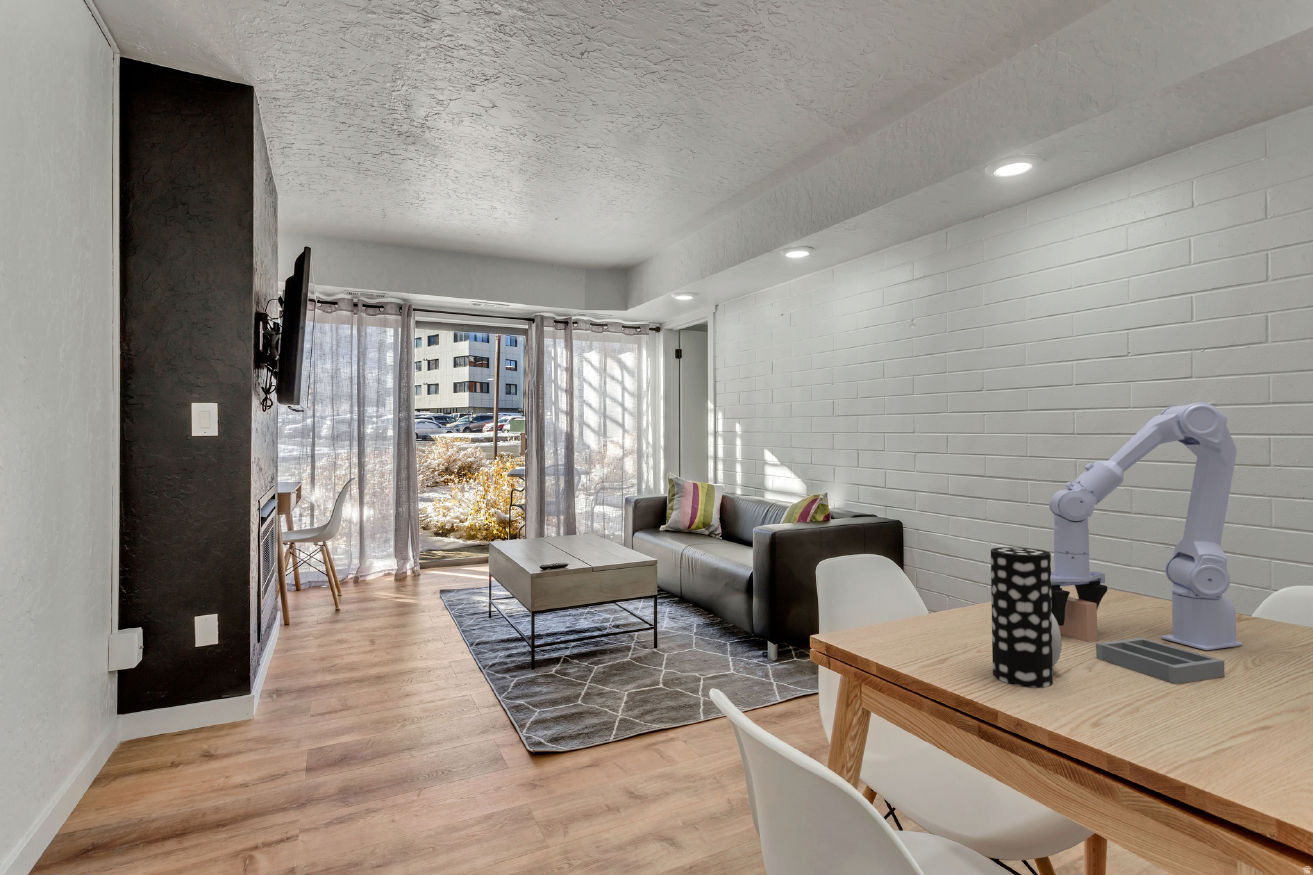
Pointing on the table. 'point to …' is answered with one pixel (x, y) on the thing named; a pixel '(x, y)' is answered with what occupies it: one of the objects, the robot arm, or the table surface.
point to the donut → (1055, 641)
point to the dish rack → (1160, 660)
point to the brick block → (1080, 620)
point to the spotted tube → (1021, 616)
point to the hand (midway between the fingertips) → (1072, 622)
